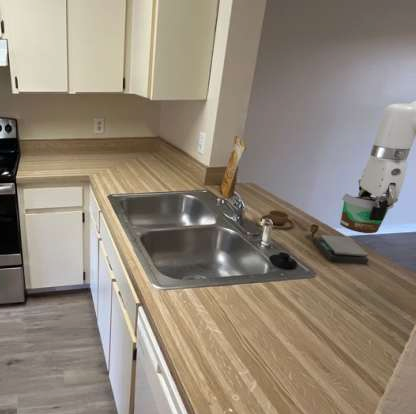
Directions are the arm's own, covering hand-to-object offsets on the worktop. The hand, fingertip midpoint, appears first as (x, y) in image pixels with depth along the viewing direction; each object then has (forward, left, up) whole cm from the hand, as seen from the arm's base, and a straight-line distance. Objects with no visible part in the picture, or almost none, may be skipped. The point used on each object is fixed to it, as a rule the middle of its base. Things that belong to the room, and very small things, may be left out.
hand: (368, 214), depth 94 cm
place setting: (+9, -31, -21) cm, 39 cm away
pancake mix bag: (+23, -69, -21) cm, 76 cm away
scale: (-4, -14, -21) cm, 26 cm away
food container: (0, 0, -5) cm, 5 cm away
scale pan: (-4, -14, -18) cm, 23 cm away
